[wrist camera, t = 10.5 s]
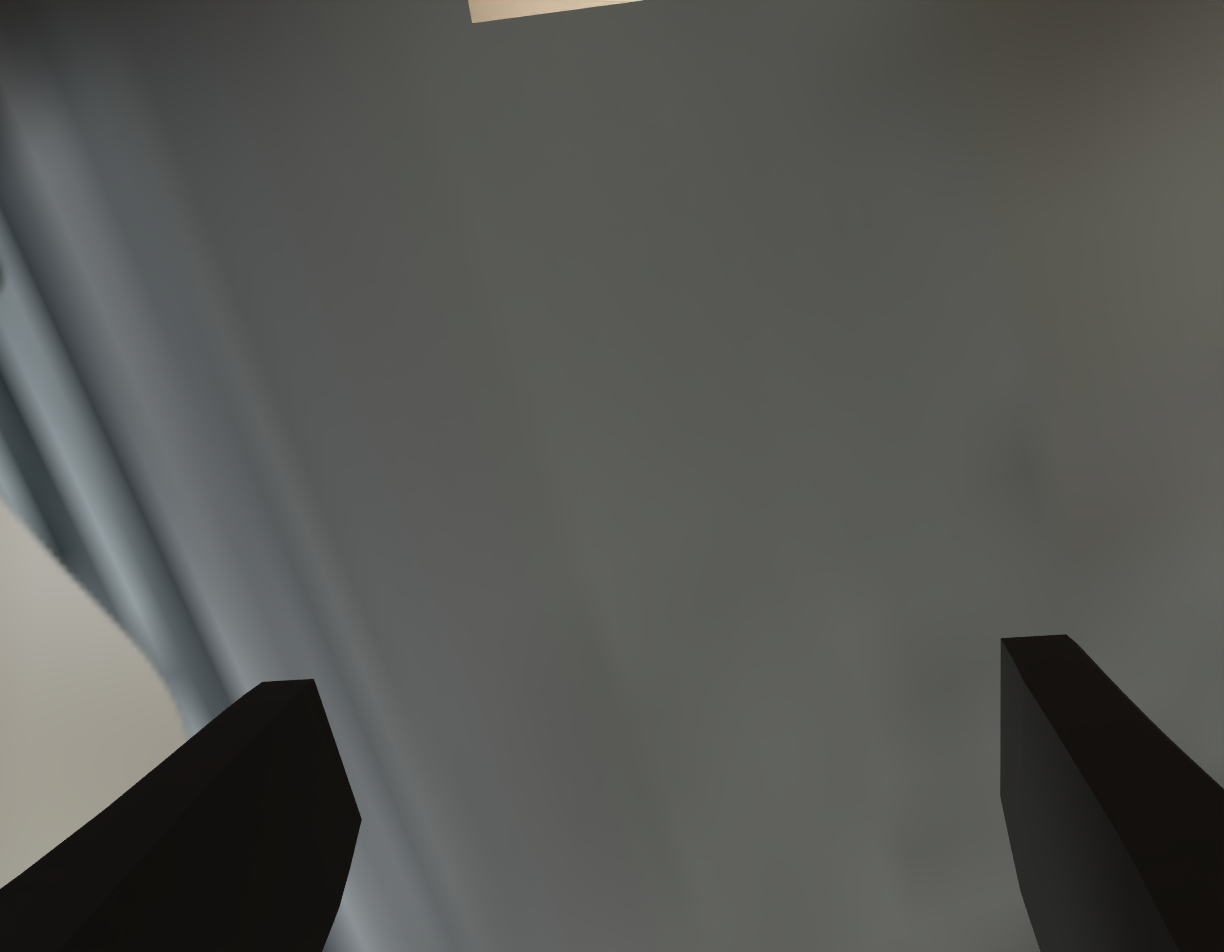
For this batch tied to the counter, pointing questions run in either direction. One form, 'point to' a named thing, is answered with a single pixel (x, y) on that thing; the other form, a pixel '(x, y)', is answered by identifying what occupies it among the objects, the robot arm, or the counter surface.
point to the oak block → (528, 7)
